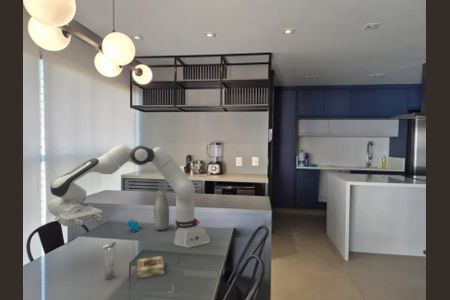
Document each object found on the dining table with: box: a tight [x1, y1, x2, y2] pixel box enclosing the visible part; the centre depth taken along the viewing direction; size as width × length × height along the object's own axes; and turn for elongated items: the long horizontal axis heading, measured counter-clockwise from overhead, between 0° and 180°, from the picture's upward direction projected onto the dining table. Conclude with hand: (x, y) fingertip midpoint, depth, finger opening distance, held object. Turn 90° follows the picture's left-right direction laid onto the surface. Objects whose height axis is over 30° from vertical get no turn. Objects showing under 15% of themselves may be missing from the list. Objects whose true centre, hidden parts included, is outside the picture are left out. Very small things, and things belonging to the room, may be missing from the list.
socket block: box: [136, 255, 165, 279], centre depth 125 cm, size 12×12×4 cm
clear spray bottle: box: [101, 241, 117, 281], centre depth 118 cm, size 7×4×15 cm, turn 153°
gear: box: [127, 218, 141, 233], centre depth 181 cm, size 11×6×10 cm
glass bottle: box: [153, 189, 170, 231], centre depth 182 cm, size 10×10×28 cm
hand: (92, 221), depth 125 cm, fingers open, 8 cm apart
